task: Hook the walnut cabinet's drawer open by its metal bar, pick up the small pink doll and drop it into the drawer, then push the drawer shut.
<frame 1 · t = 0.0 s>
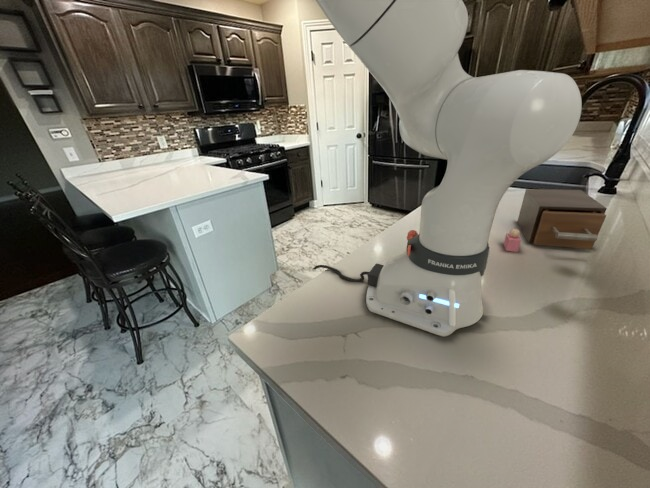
cabinet: (549, 233, 73), on the counter
drawer: (562, 223, 67), point 5 cm above the counter, slide at 1.0 cm
doll: (510, 248, 69), on the counter
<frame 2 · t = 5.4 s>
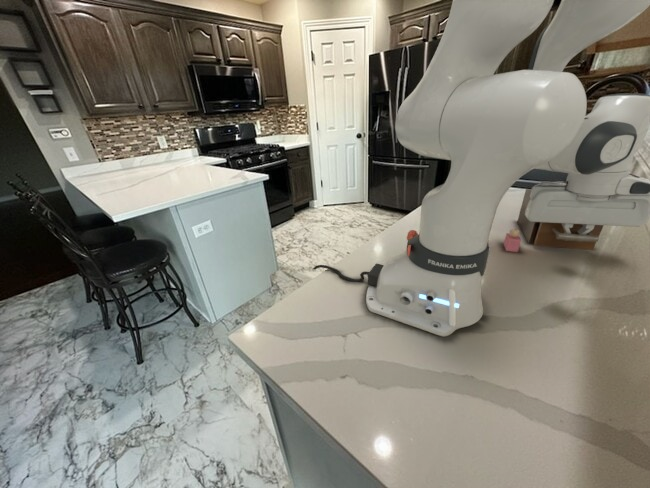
hand: (571, 239, 61), 4 cm above the counter, tool pointing down, fingers closed
drawer: (562, 224, 66), point 5 cm above the counter, slide at 1.6 cm
everything else where it was.
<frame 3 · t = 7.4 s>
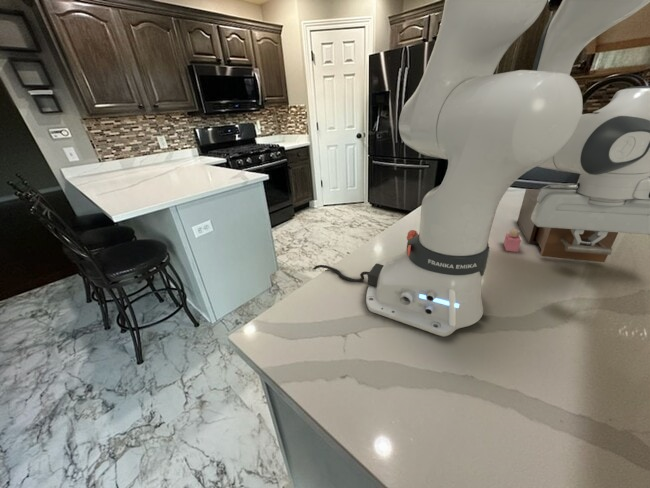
hand: (581, 247, 56), 5 cm above the counter, tool pointing down, fingers closed
drawer: (571, 234, 61), point 5 cm above the counter, slide at 7.3 cm
everything else where it was.
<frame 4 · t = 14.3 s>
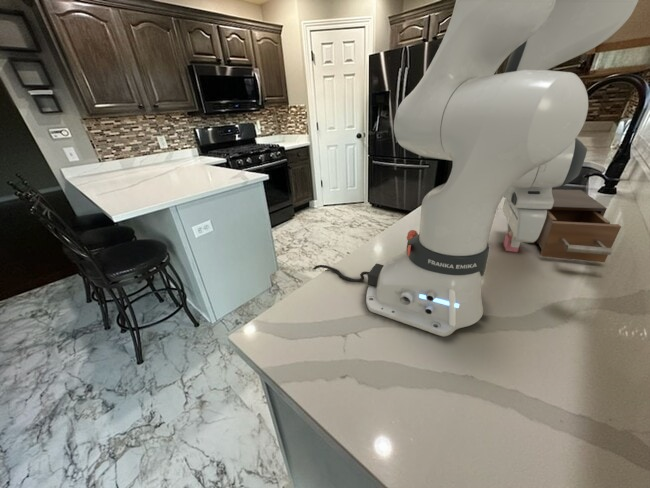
hand: (512, 241, 68), 2 cm above the counter, tool pointing down, fingers closed on doll, 3 cm apart
doll: (510, 248, 69), on the counter, touching gripper
everything else where it was.
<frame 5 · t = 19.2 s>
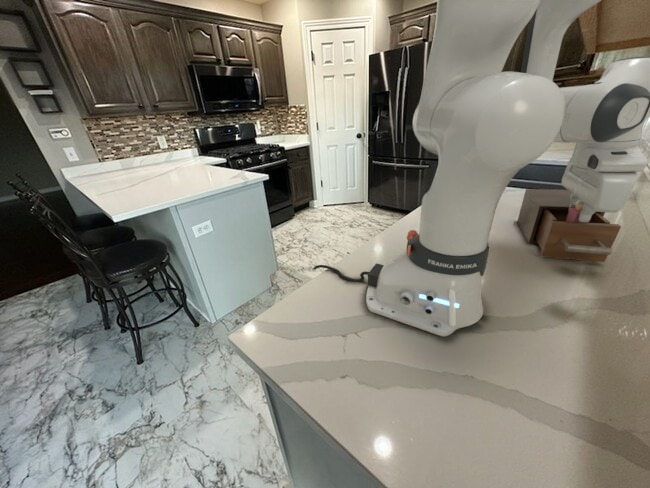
hand: (577, 216, 59), 10 cm above the counter, tool pointing down, fingers closed on doll, 3 cm apart
doll: (575, 224, 60), point 8 cm above the counter, touching gripper
everything else where it was.
when the fingers open (10 cm above the counter, at t = 28.3 s): doll drops 6 cm, resting on drawer.
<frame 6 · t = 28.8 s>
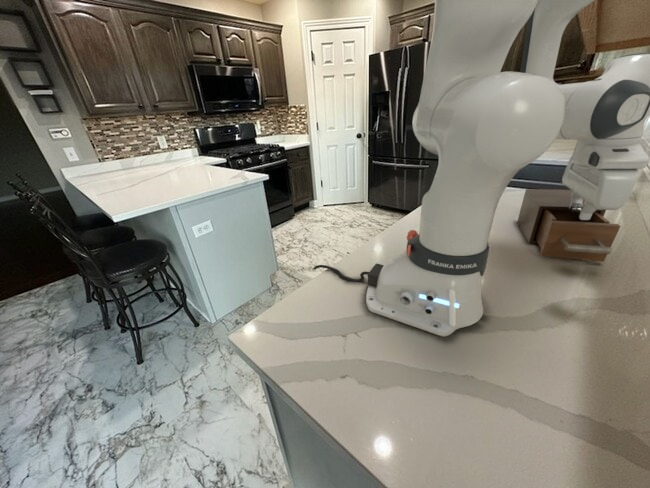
hand: (578, 214, 59), 10 cm above the counter, tool pointing down, fingers open, 3 cm apart
drawer: (570, 233, 62), point 5 cm above the counter, slide at 7.0 cm, touching doll
doll: (565, 245, 63), point 2 cm above the counter, touching drawer
everything else where it was.
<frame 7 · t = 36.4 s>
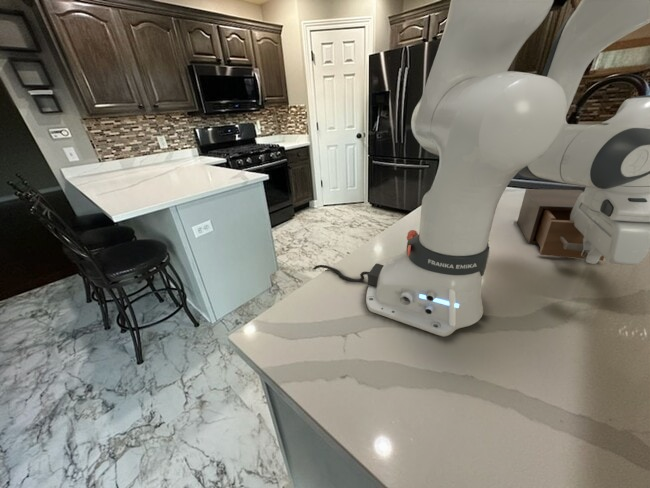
hand: (588, 259, 54), 4 cm above the counter, tool pointing down, fingers closed
drawer: (570, 232, 62), point 5 cm above the counter, slide at 6.5 cm, touching doll, gripper
everything else where it was.
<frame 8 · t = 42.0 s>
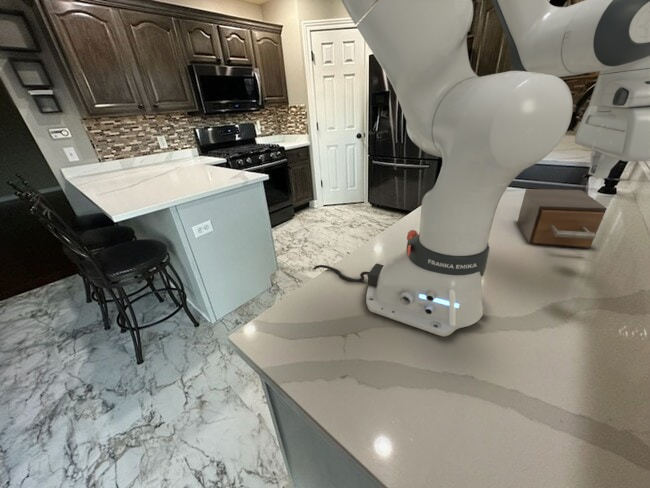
hand: (596, 176, 49), 21 cm above the counter, tool pointing down, fingers closed
drawer: (560, 222, 67), point 5 cm above the counter, slide at 0.0 cm, touching cabinet, doll
doll: (556, 233, 69), point 2 cm above the counter, touching drawer
everything else where it was.
at the end: doll inside the target area in the cabinet (4.0 cm from its centre), point 2.0 cm above the cabinet's base; drawer slide at 0.0 cm; the gripper is holding nothing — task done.
